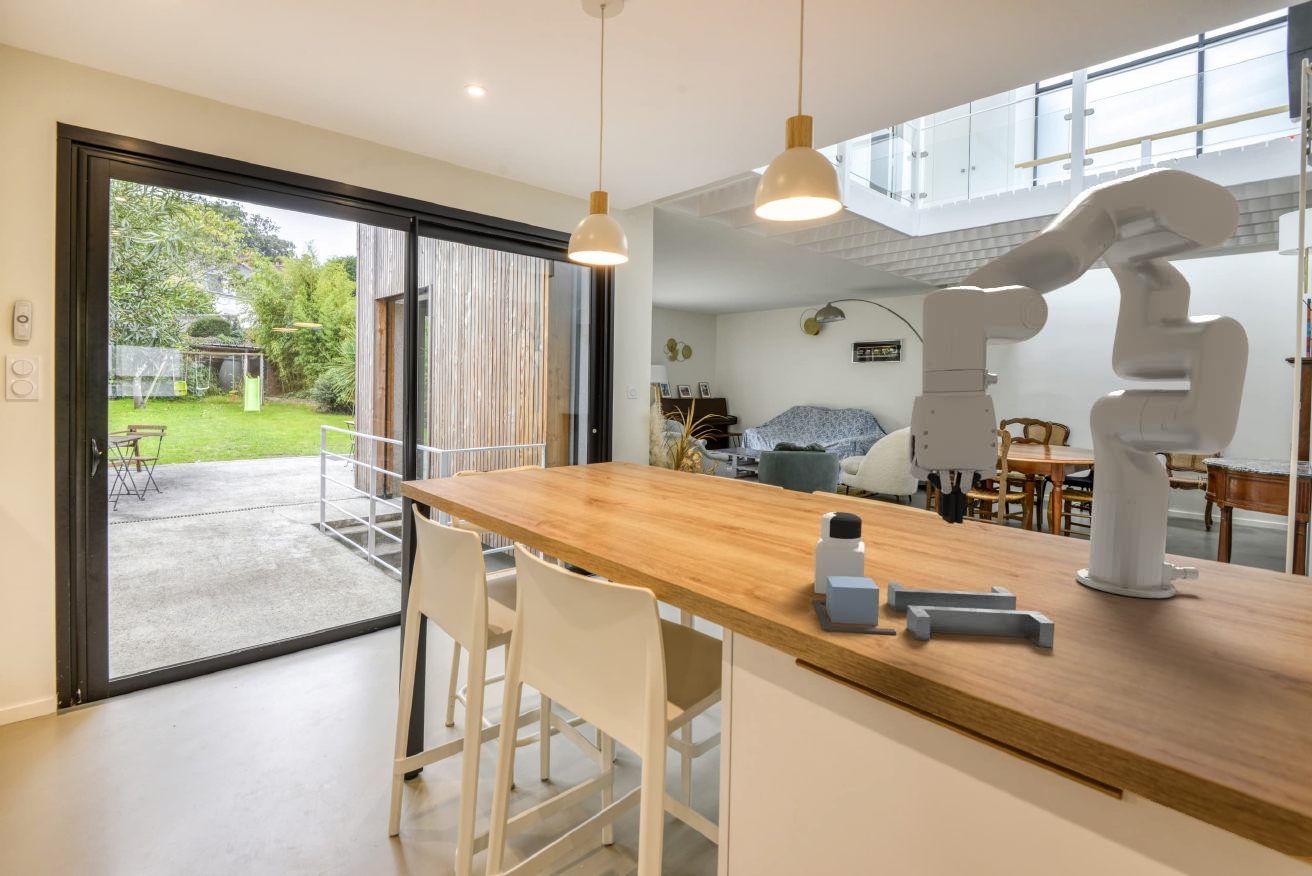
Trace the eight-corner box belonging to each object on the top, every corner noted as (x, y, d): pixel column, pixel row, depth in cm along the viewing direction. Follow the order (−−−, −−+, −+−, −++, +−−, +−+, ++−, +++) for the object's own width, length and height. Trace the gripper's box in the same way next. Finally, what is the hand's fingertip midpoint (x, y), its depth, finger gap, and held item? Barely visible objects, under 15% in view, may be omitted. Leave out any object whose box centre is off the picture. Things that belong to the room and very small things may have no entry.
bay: (875, 604, 87) (875, 602, 87) (896, 634, 76) (896, 632, 76) (812, 601, 88) (812, 599, 88) (823, 630, 78) (824, 628, 78)
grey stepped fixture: (1002, 607, 86) (1003, 587, 86) (1053, 647, 73) (1054, 623, 73) (887, 601, 88) (887, 582, 88) (915, 639, 75) (916, 616, 75)
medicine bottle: (863, 584, 96) (865, 511, 96) (863, 599, 90) (865, 520, 89) (817, 580, 99) (819, 508, 98) (814, 593, 92) (816, 516, 91)
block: (869, 612, 85) (870, 577, 84) (878, 625, 80) (879, 588, 79) (825, 609, 85) (826, 575, 85) (831, 623, 80) (832, 586, 80)
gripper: (1001, 382, 81) (999, 514, 83) (887, 386, 83) (887, 515, 85) (1028, 382, 74) (1025, 527, 76) (902, 386, 76) (902, 528, 78)
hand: (952, 521), depth 80 cm, fingers closed
